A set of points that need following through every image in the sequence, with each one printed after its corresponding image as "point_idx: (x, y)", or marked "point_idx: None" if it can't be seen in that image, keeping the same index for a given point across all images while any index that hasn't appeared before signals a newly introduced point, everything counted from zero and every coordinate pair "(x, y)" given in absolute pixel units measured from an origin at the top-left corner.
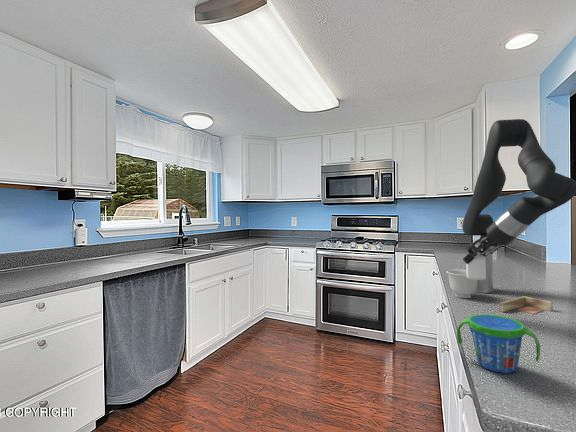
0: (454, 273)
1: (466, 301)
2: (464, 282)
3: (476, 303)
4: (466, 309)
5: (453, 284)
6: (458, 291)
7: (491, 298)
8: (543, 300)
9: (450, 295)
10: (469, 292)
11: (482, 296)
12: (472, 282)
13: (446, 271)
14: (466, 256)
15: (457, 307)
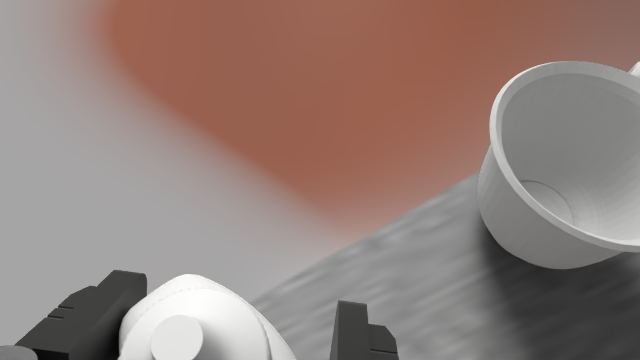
0: (603, 97)
1: (447, 280)
2: (511, 214)
3: (458, 335)
4: (298, 353)
5: (484, 164)
6: (479, 208)
7: (635, 346)
8: None
9: (479, 175)
10: (519, 257)
11: (623, 292)
12: (561, 247)
13: (527, 70)
14: (43, 322)
15: (296, 302)
